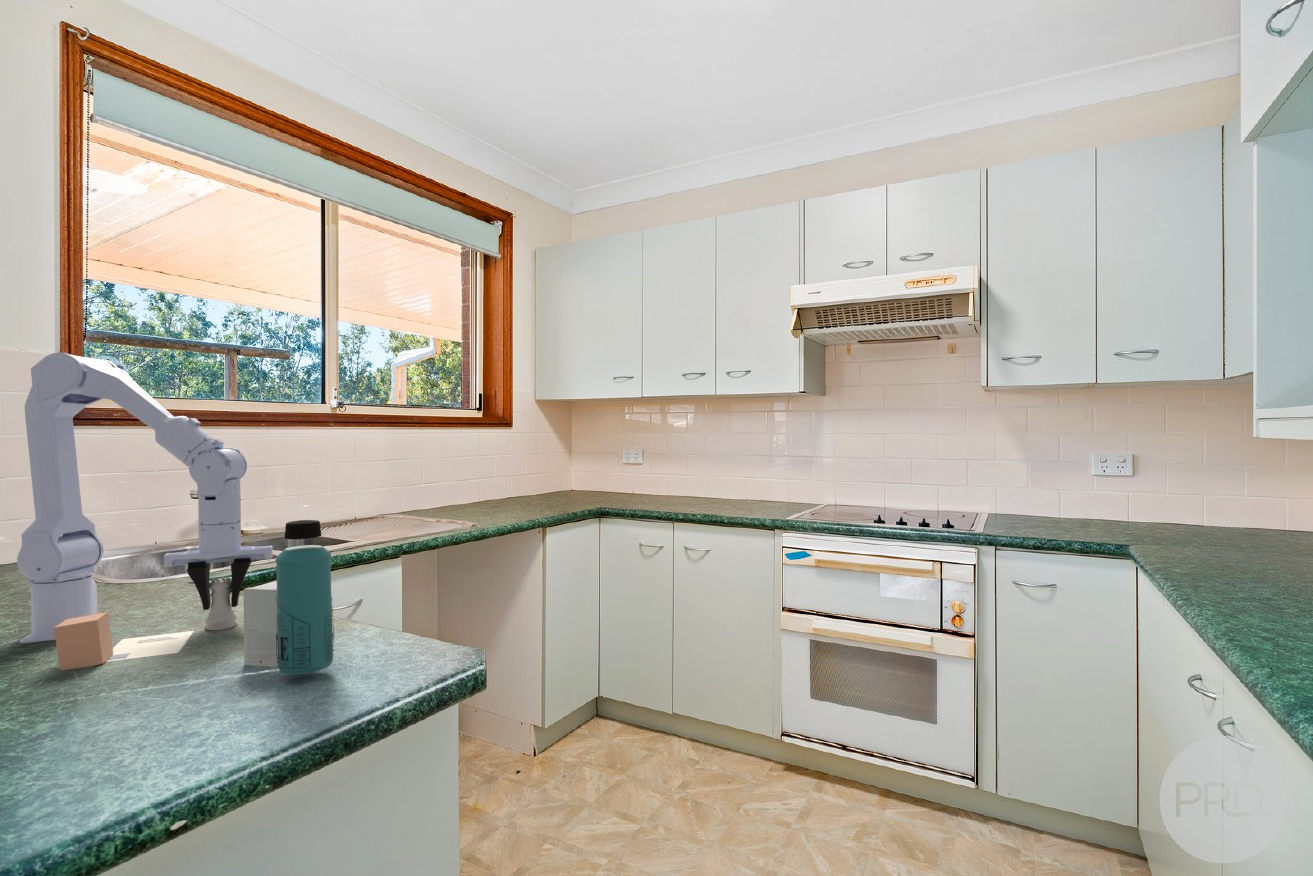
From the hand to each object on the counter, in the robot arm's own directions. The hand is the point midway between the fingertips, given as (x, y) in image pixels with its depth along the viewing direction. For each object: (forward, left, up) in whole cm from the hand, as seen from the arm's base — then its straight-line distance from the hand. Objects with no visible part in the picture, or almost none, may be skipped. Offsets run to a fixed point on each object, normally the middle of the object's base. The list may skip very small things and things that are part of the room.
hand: (220, 607), depth 107 cm
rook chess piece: (0, 0, -4) cm, 4 cm away
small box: (+22, +10, -4) cm, 24 cm away
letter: (+7, -8, -3) cm, 11 cm away
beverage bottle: (+32, +13, -4) cm, 35 cm away
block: (+12, -14, -3) cm, 19 cm away
